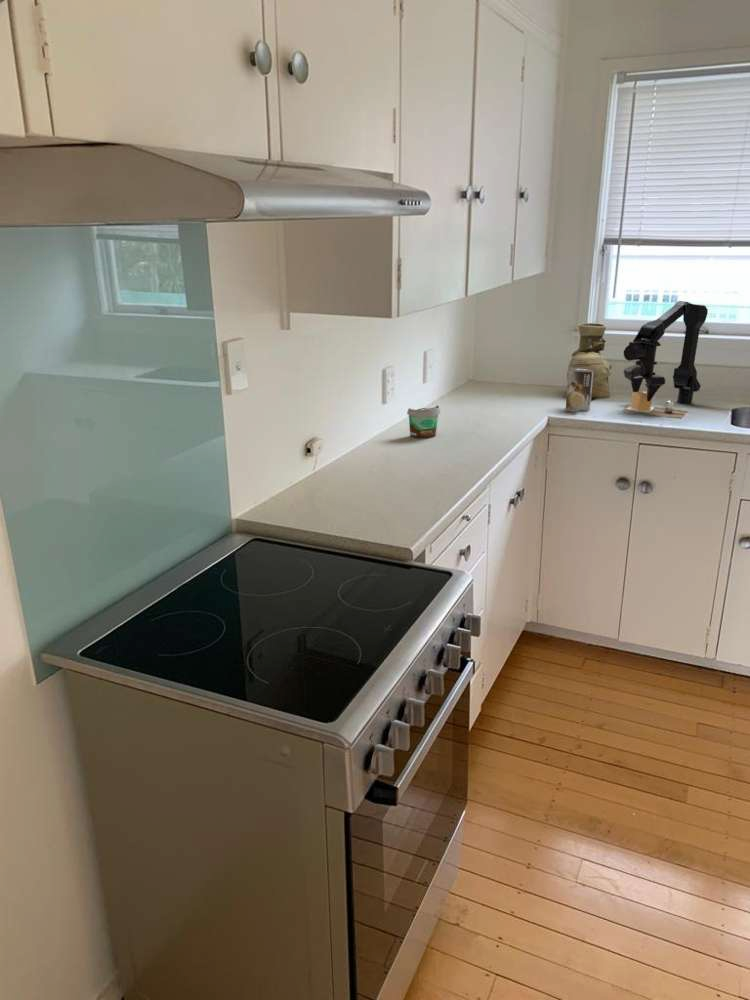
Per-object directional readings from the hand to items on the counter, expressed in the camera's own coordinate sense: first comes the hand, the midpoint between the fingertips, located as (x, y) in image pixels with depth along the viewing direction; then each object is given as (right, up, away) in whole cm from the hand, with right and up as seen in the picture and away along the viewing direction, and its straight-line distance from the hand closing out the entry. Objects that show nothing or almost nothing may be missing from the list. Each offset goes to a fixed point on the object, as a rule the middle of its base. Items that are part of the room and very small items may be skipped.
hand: (641, 398), depth 291 cm
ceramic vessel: (-13, +5, +28) cm, 31 cm away
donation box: (0, -4, +1) cm, 4 cm away
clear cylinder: (+9, -6, -4) cm, 11 cm away
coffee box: (-24, -4, +3) cm, 25 cm away
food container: (-86, -18, -34) cm, 95 cm away
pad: (0, -4, +1) cm, 4 cm away
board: (+5, -6, -1) cm, 8 cm away
